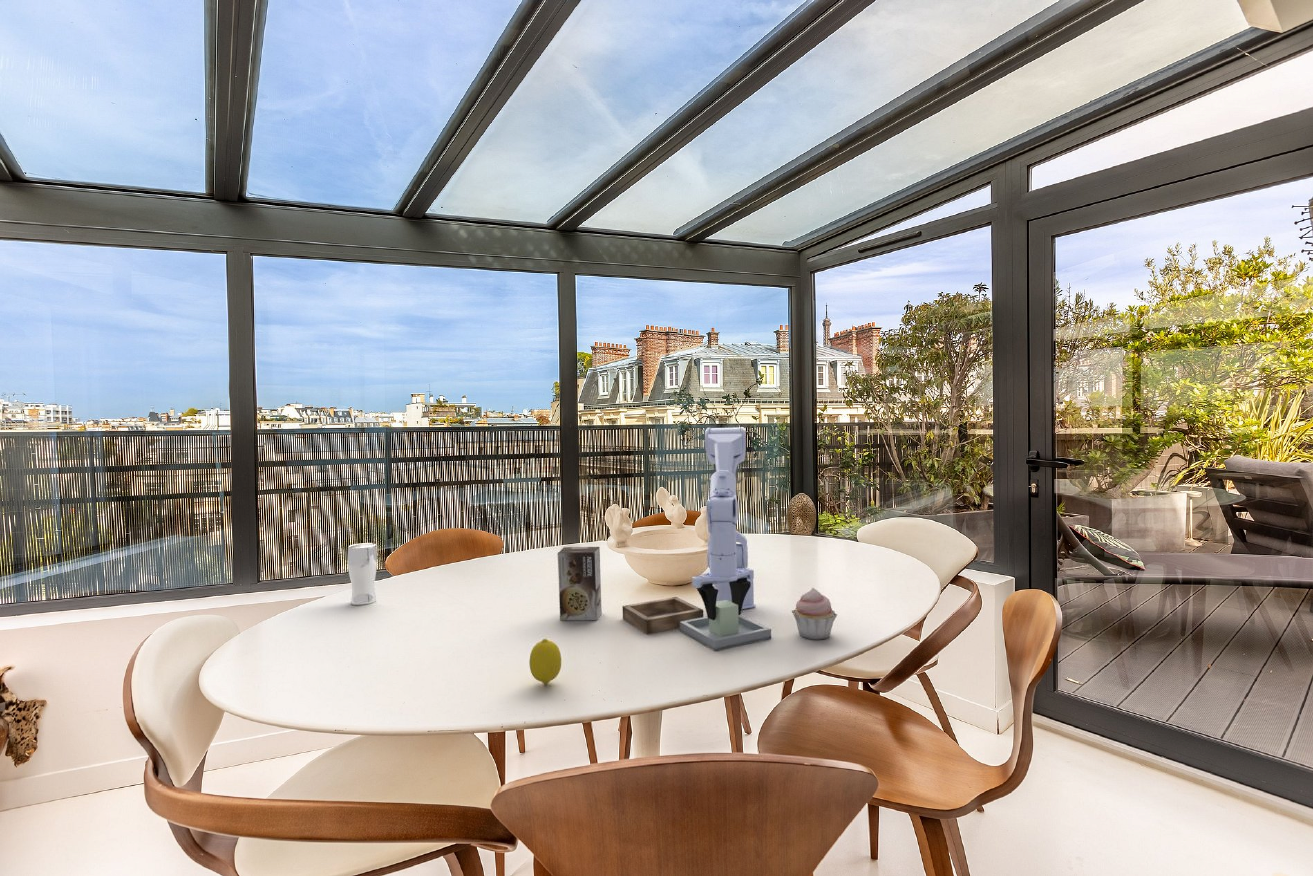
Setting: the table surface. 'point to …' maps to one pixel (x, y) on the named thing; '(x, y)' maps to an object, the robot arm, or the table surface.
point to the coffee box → (579, 583)
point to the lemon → (545, 661)
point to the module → (725, 619)
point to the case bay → (660, 623)
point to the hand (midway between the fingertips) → (724, 616)
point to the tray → (747, 634)
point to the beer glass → (362, 572)
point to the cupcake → (814, 615)
